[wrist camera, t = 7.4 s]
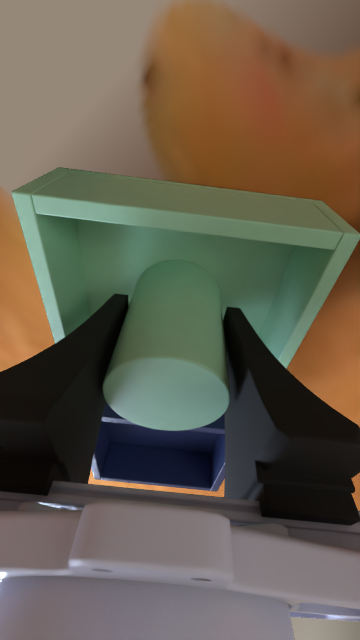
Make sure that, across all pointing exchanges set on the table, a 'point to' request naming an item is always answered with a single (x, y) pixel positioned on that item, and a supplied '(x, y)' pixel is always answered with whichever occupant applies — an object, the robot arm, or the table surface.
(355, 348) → the table surface
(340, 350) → the table surface
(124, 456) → the navy tub
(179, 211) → the mint tub
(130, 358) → the mint peg
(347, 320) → the table surface
